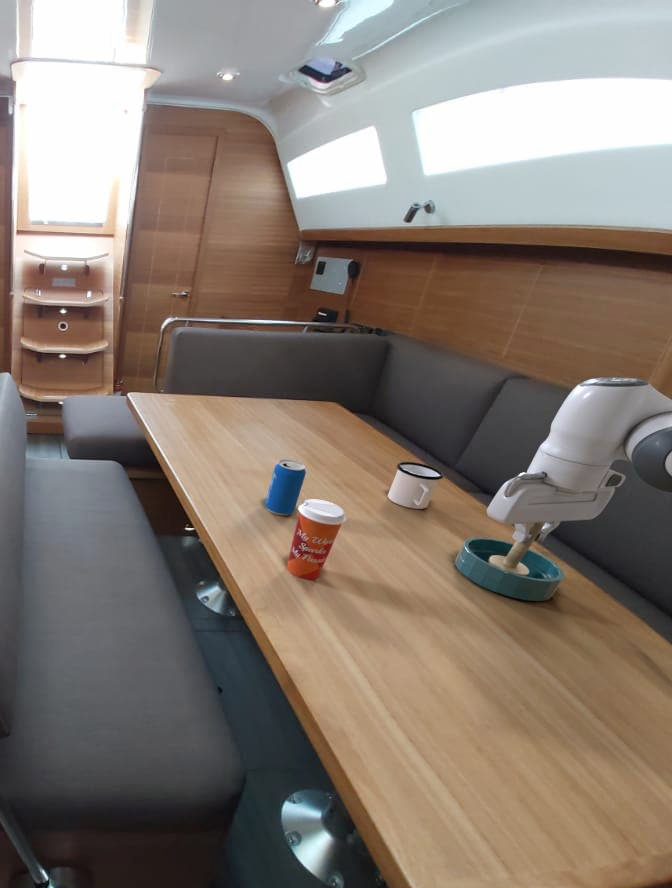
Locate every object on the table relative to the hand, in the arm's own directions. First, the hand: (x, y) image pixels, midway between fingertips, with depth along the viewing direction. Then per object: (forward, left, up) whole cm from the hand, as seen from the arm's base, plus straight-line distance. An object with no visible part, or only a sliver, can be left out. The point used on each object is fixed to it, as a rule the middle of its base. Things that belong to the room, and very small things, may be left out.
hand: (527, 539), depth 91 cm
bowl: (0, -1, -10) cm, 10 cm away
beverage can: (+39, -13, -10) cm, 42 cm away
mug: (+8, -31, -10) cm, 34 cm away
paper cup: (+36, +12, -10) cm, 39 cm away
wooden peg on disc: (0, -1, -9) cm, 9 cm away
